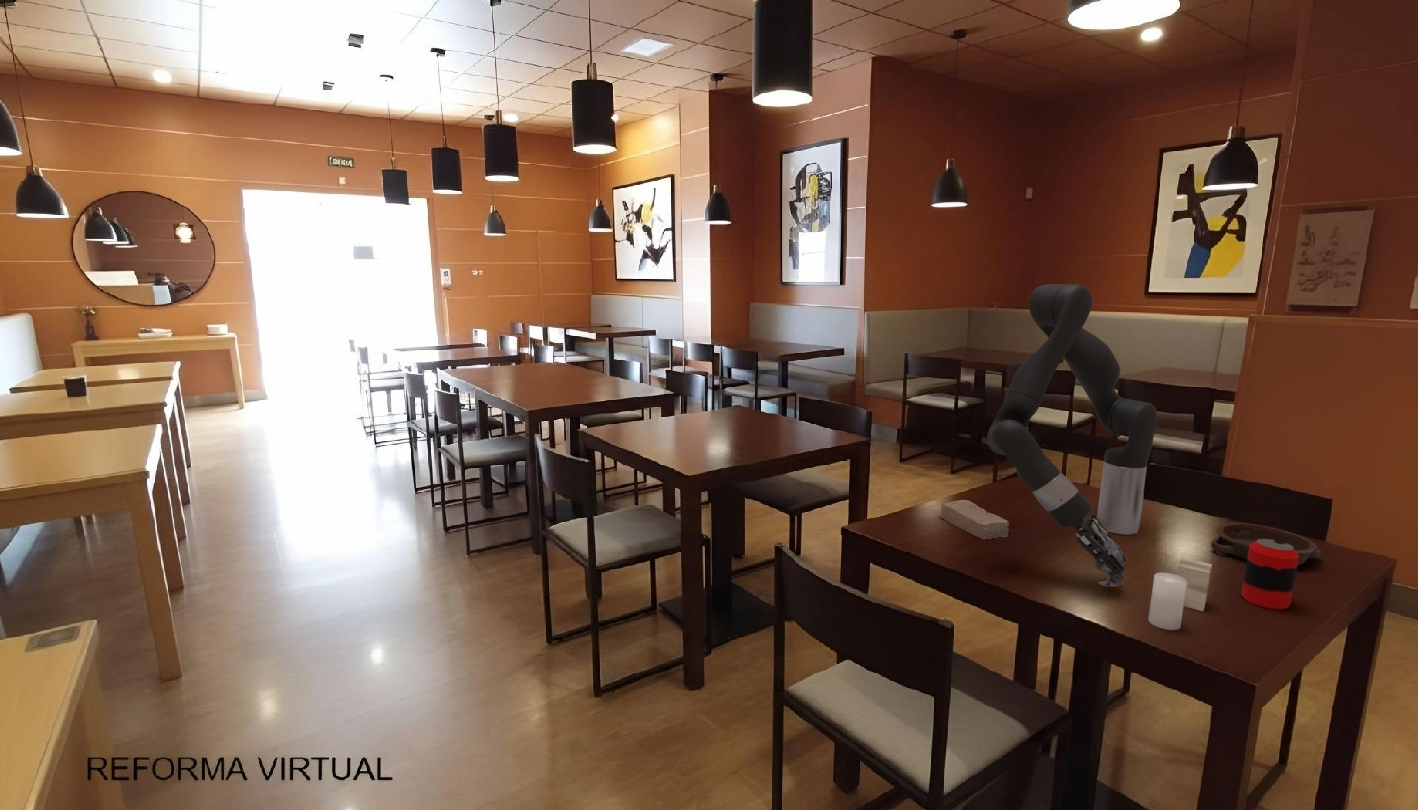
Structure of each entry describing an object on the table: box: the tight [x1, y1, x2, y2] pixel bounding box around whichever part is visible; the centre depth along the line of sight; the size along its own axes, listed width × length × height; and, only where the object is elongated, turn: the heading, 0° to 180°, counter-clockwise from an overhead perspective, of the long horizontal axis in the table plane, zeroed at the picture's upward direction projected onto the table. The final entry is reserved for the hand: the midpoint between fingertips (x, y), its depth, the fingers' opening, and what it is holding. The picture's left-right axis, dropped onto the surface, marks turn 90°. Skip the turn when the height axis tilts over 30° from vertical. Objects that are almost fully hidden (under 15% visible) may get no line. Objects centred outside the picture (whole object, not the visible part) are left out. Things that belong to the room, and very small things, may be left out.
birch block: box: [1176, 557, 1213, 612], centre depth 134 cm, size 5×5×8 cm
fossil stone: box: [1094, 539, 1126, 587], centre depth 139 cm, size 5×5×10 cm
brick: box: [940, 499, 1010, 541], centre depth 174 cm, size 17×8×5 cm, turn 19°
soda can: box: [1241, 539, 1299, 611], centre depth 134 cm, size 8×8×12 cm
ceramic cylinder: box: [1147, 572, 1187, 631], centre depth 126 cm, size 5×5×9 cm
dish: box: [1210, 522, 1322, 566], centre depth 157 cm, size 18×22×5 cm
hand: (1121, 566), depth 138 cm, fingers closed on fossil stone, 4 cm apart
